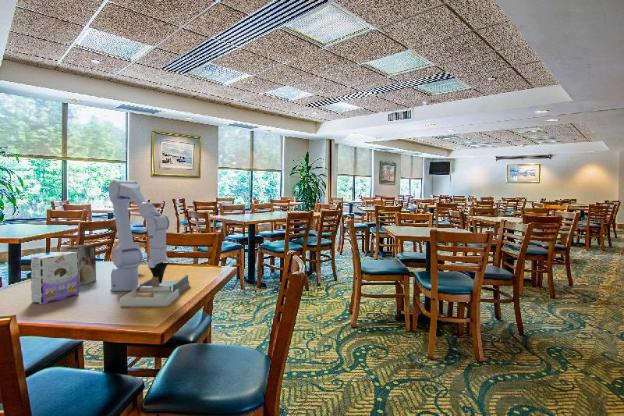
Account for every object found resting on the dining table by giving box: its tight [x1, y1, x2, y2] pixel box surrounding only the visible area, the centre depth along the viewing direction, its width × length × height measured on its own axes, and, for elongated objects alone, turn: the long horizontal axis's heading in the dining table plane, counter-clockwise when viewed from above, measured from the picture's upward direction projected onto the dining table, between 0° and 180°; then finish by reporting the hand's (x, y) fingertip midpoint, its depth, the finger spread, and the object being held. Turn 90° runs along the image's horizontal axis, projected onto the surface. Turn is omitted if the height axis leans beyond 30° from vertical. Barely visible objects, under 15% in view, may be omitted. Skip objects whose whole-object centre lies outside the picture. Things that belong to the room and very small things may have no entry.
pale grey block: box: [139, 275, 171, 292], centre depth 140 cm, size 11×2×5 cm, turn 92°
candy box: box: [30, 251, 80, 305], centre depth 138 cm, size 14×6×16 cm, turn 157°
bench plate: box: [138, 274, 190, 295], centre depth 150 cm, size 14×17×4 cm
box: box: [119, 289, 180, 308], centre depth 136 cm, size 16×12×3 cm
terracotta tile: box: [138, 292, 154, 298], centre depth 138 cm, size 4×4×2 cm
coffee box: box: [66, 244, 97, 286], centre depth 162 cm, size 9×6×16 cm
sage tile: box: [154, 291, 169, 298], centre depth 138 cm, size 4×4×2 cm
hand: (158, 283), depth 143 cm, fingers closed
